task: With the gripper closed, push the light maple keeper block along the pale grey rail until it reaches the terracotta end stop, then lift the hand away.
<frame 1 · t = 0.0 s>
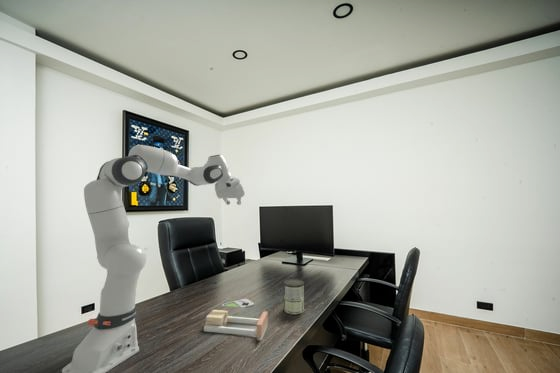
hand: (234, 204, 136), 54 cm above the table, tool tilted 30°, fingers open, 8 cm apart
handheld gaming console: (238, 306, 127), on the table
keeper block: (217, 319, 104), point 4 cm above the table, slide at 0.0 cm
rail: (235, 329, 102), on the table
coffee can: (293, 310, 122), on the table
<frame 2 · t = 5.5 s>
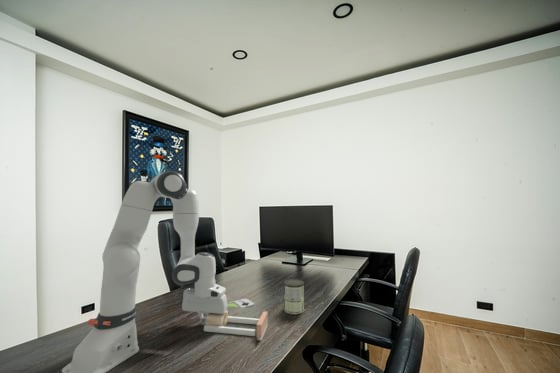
hand: (204, 321, 105), 2 cm above the table, tool pointing down, fingers closed
keeper block: (217, 319, 104), point 4 cm above the table, slide at 0.0 cm, touching gripper
everything else where it was.
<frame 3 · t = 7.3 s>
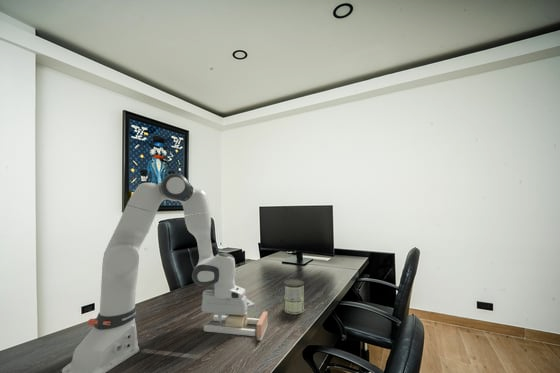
hand: (223, 323, 103), 2 cm above the table, tool pointing down, fingers closed
keeper block: (237, 321, 102), point 4 cm above the table, slide at 9.2 cm, touching gripper
everything else where it was.
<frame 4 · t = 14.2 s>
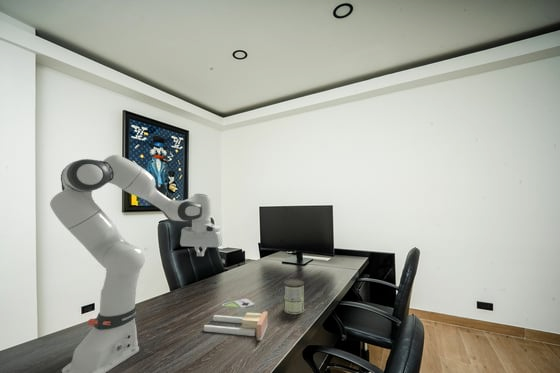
hand: (200, 255, 115), 29 cm above the table, tool pointing down, fingers closed
keeper block: (252, 322, 101), point 4 cm above the table, slide at 16.0 cm, touching rail
everything else where it was.
at the end: keeper block slide at 16.0 cm; the gripper is holding nothing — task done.
